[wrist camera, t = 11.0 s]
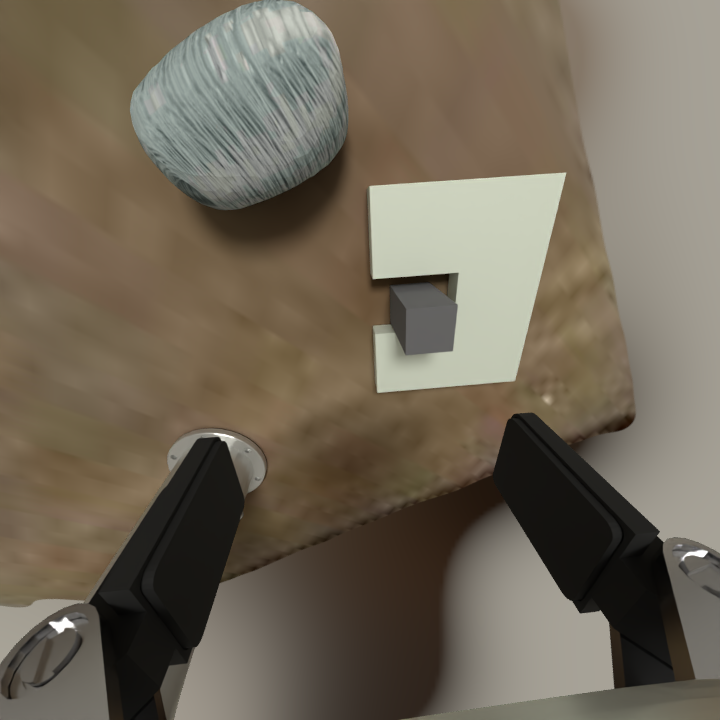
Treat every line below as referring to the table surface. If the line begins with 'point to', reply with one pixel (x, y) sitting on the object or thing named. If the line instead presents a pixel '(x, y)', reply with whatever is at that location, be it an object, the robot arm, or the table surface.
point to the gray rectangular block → (422, 318)
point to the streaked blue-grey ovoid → (245, 105)
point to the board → (463, 270)
